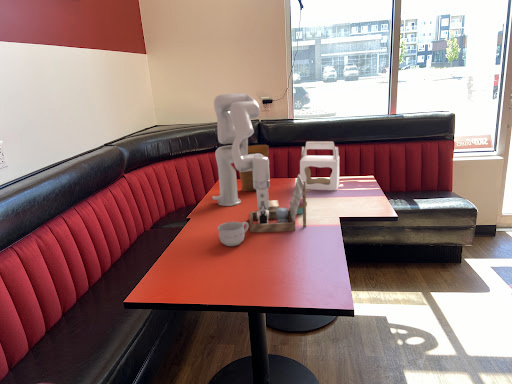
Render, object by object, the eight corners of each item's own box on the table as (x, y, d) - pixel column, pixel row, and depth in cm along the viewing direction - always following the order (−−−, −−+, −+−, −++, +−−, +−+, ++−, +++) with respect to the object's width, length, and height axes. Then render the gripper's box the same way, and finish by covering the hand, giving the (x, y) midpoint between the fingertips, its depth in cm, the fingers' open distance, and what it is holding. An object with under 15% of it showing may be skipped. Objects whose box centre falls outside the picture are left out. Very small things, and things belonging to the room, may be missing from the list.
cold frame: (250, 232, 170) (247, 186, 164) (250, 218, 187) (248, 176, 182) (307, 229, 170) (306, 183, 164) (302, 216, 187) (301, 174, 181)
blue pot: (276, 225, 177) (276, 211, 175) (276, 221, 182) (275, 208, 180) (289, 224, 177) (288, 211, 175) (288, 220, 182) (287, 207, 180)
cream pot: (257, 227, 176) (256, 213, 174) (257, 222, 181) (256, 209, 180) (269, 226, 176) (269, 213, 174) (269, 222, 181) (268, 209, 179)
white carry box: (299, 189, 233) (299, 143, 226) (304, 183, 245) (303, 139, 238) (337, 190, 227) (337, 143, 219) (339, 184, 239) (340, 139, 231)
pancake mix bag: (269, 191, 231) (267, 145, 223) (238, 192, 234) (235, 146, 226) (270, 188, 237) (269, 143, 229) (240, 189, 240) (237, 144, 232)
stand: (258, 216, 189) (258, 207, 188) (258, 210, 199) (258, 201, 197) (279, 215, 189) (278, 206, 188) (277, 209, 199) (277, 200, 197)
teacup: (225, 251, 153) (223, 232, 151) (215, 241, 162) (213, 224, 160) (256, 243, 159) (255, 224, 157) (244, 234, 168) (243, 217, 166)
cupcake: (306, 215, 188) (306, 191, 185) (289, 215, 190) (288, 191, 186) (307, 209, 196) (307, 186, 193) (291, 209, 198) (290, 186, 194)
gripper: (270, 188, 165) (272, 226, 169) (269, 179, 181) (270, 213, 186) (253, 189, 165) (255, 227, 170) (253, 179, 182) (255, 214, 186)
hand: (263, 219), depth 178 cm, fingers open, 9 cm apart
